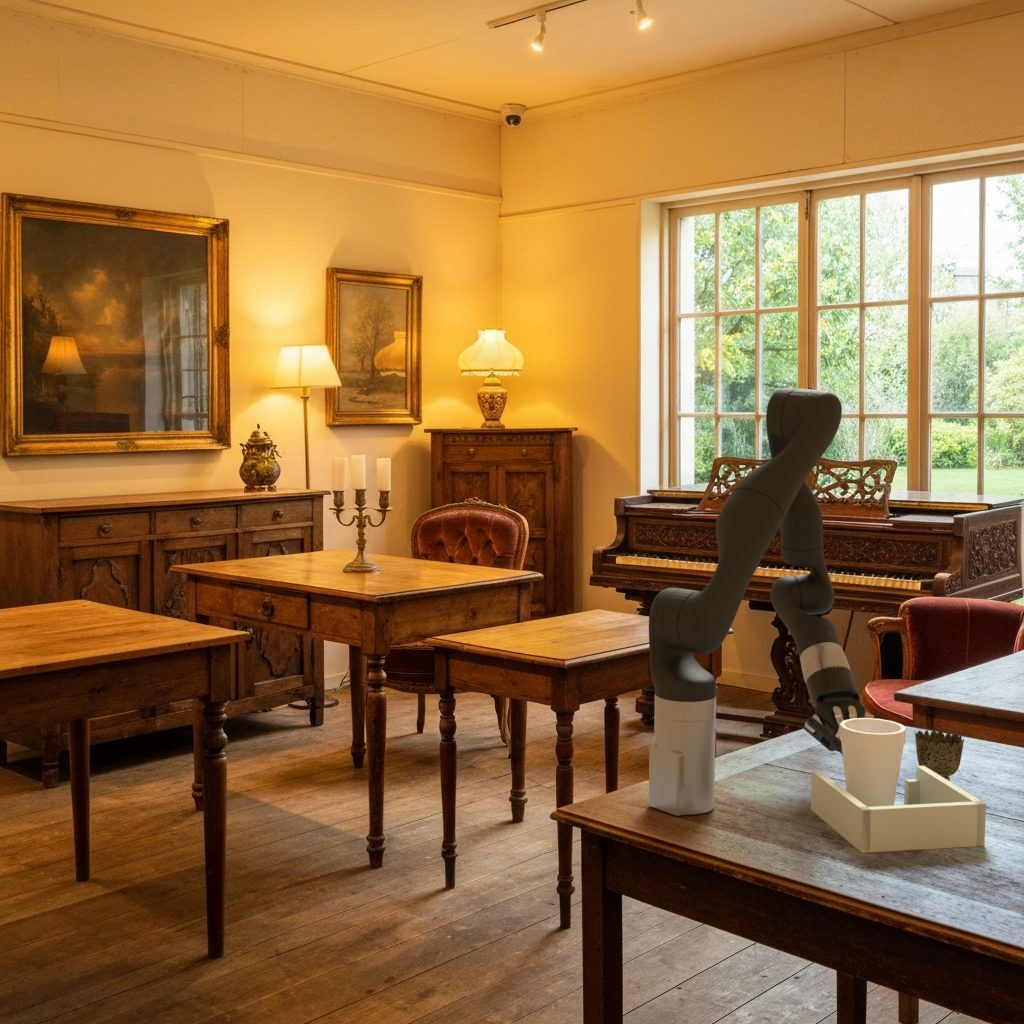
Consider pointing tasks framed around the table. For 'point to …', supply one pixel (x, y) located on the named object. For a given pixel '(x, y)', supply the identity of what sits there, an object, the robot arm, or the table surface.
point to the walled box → (903, 815)
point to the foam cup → (872, 759)
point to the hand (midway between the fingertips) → (858, 772)
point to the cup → (939, 752)
